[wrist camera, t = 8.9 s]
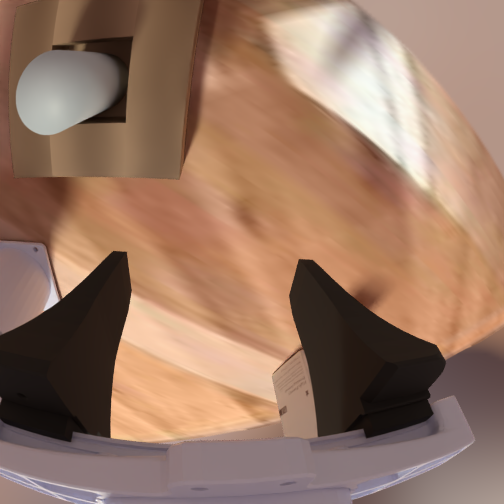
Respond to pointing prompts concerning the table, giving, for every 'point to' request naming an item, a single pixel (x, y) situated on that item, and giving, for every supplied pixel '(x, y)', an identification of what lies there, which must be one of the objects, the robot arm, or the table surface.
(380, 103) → the table surface
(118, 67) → the peg
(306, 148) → the table surface
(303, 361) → the skincare box
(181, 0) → the walnut socket block
